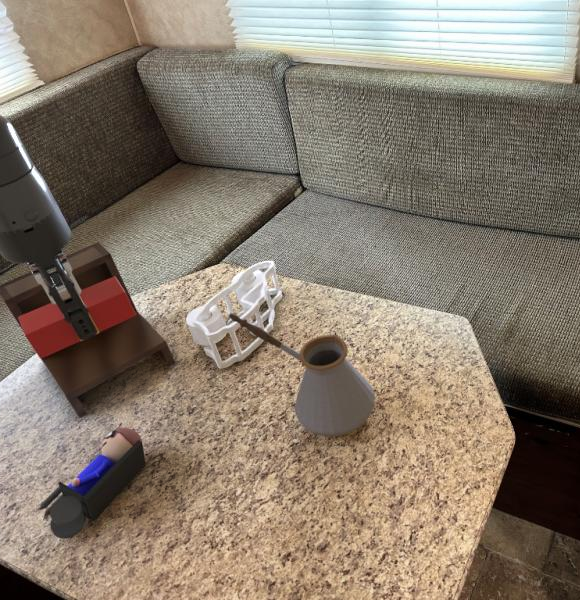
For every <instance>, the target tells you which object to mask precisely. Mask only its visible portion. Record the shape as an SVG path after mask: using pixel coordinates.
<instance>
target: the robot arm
mask: <svg viewBox="0 0 580 600" xmlns="http://www.w3.org/2000/svg"><path fill="white" fill-rule="evenodd" d="M71 239H72V230H71V228H70V226H69V225H68V222H67V221H66V218H65V217H64V215H63V213H62V211H61V209H60V207H59V205H58V203H57V201H56V198H55V197H54V196H53V193H52V192H51V189H50V188H49V186H48V184H47V182H46V180H45V179H44V177H43V176H42V174H41V173H40V172H39V170H38V169H37V167H36V166H35V163H33V161H32V158H31V156H30V154H29V153H28V151H27V148H26V147H25V145H24V143H23V141H22V138H21V137H20V135H19V133H18V131H17V130H16V128H15V126H14V125H13V123H12V122H11V121H10V120H9V119H8V118H7V117H5V116H3V115H1V114H0V255H1V257H2V258H3V259H4V260H5V261H7V262H9V263H11V264H18V265H19V264H20V265H21V264H27V265H28V267H29V269H30V272H32V274H33V276H34V277H35V279H36V281H37V283H38V284H41V285H42V287H43V288H44V290H45V292H46V294H47V295H48V297H49V299H50V301H51V302H52V303H53V304H57V306H58V307H59V309H60V311H61V312H62V315H63V316H64V320H65V321H67V322H68V324H69V323H70V324H71V325H72V327H73V329H74V330H75V332H76V334H77V336H78V337H79V339H80V340H85V339H87V338H89V337H91V336H94V335H96V334H97V329H96V327H95V326H94V324H93V322H92V320H91V318H90V317H89V313H88V312H89V310H88V308H87V306H86V305H84V304H83V302H82V300H81V298H80V294H81V289H80V287H79V285H78V283H77V281H76V280H75V278H74V276H73V274H72V267H71V265H70V264H69V262H68V260H67V258H66V256H67V255H66V254H65V253H64V251H63V249H64V248H65V247H66V246H67V245H68V244H69V243H70V241H71ZM49 287H50V288H49Z"/></svg>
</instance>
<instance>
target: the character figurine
mask: <svg viewBox="0 0 580 600" xmlns="http://www.w3.org/2000/svg"><path fill="white" fill-rule="evenodd" d="M146 466H147V463H146V456H145V451H144V444H143V439H142V437H141V435H140V434H139V433H138V431H136V430H134V429H132V428H129V427H119V428H116V429H114V430H112V431H110V432H109V433H107V434H106V436H105V438H104V439H103V441H102V443H101V454H98V455H97V456H96V457H95V458H94V459H93V460H91V462H89V464H88V465H87V466H86V467H85V468H84V469H83V470H81V472H80V473H79V474H78V475H77V476H76V477H74V478H73V479H72V480H71V482H70V483H68V485H67V484H65V483H63V481H59V482H58V487H56V488H55V490H54V491H52V493H50V494H49V495H48V496H47V497H46V499H44V500H43V502H41V504H40V506H39V511H41V510H44V514H43V518H46V517H48V516H50V518H51V520H50V525H49V526H50V530H51V532H52V534H53V535H54V536H55V537H56V538H59V539H61V540H66V539H71V538H73V537H75V536H77V535H79V534H80V533H81V532H82V531H83V529H84V528H85V525H86V519H88V520H89V521H90V520H91V521H92V522H95V521H96V520H97V519H98V518H99V517H101V515H102V514H103V513H104V512H105V511H106V510H107V508H108V507H109V506H110V505H111V504H112V503H113V502H114V501H115V500H116V499H117V498H118V497H119V496H120V495H121V493H122V492H123V491H124V490H125V489H126V488H127V487H128V486H129V484H131V482H132V481H133V480H134V479H135V478H136V477H137V476H138V475H139V474H140V473H141V472H142V470H144V469H145V467H146ZM60 494H61V495H60ZM56 498H57V499H56ZM49 505H50V506H49ZM45 509H46V510H45Z"/></svg>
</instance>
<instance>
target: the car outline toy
mask: <svg viewBox="0 0 580 600" xmlns="http://www.w3.org/2000/svg"><path fill="white" fill-rule="evenodd" d="M262 269H266V270H265V271H264V272H263V271H261V270H262ZM276 269H277V268H276V265H275V261H273V260H271V259H269V260H264V261H259V262H256V263H254V264H252V265H250V266H248V268H245V269H244V270H242V271H240V272H238V273H236V274H235V275H234V276H233V277H232V280H231V283H230V284H229V285H228V286H226V287H225V288H223V289H222V290H220V291H219V292H217V293H216V294H214V295H213V296H212V297H211V298H210V299H208V300H207V301H206V302H205V303H204V305H200V306H198V307H196V308H194V309H192V310H191V311H190V312H189V313H188V314H187V316H186V319H185V322H186V324H187V327H188V330H189V332H190V334H191V337H192V339H193V341H194V343H195V344H197V345H198V346H203V350H204V353H205V355H206V356H207V357H210V358H211V359H212V360H213V361H214V362H215V364H216V366H217V368H218V369H220V370H223V369H226V368H229V367H230V366H232V365H233V364H235V363H237V362H243V360H245V359H246V358H247V357H248V356H249V355H251V354H252V353H253V352H254V351H255V350H256V349H258V348H259V346H261V345H262V343H264V342H265V340H263V339H261V338H259V337H257V338H256V339H255V340H253V342H251V343H250V344H249V345H248V346H247V347H246V348H244V350H242V349H241V346H240V343H239V340H238V338H237V335H236V331H237V330H238V329H239V328H241V326H240V324H239V323H238V322H235V321H233V322H232V323H231V324H230V325H226V321H225V319H224V317H223V314H222V311H221V309H220V308H219V307H218V306H217V305H216V304H217V303H219V302H220V301H221V300H223V299H224V303H225V305H226V308H227V311H228V314H229V315H230V314H233V313H235V311H234V308H233V305H232V302H231V299H230V296H229V294H232V293H234V294H235V296H236V299H237V302H238V304H240V306H241V308H242V309H241V311H239V312H238V313H236V314H237V316H239V318H241V319H246V320H247V322H248V323H250V324H252V325H255V326H257V327H260V328H261V329H263V330H264V331H266V332H267V333H269V334H270V333H271V332H272V331H273V330H274V320H275V317H276V312H275V306H276V305H277V304H278V303H279V302H281V300H282V298H283V292H282V289H281V287H280V283H279V280H278V279H279V278H278V276H277V271H276ZM270 277H271V278H272V281H273V285H274V287H273V288H269V287H268V283H267V282H268V281H267V280H268V279H269V278H270ZM271 296H274V297H273V298H272V297H271ZM265 302H266V304H267V307H268V309H267V310H266V311H265V312H264V313H262V315H261V313H260V307H261V306H262V305H263V304H264V303H265ZM234 315H235V314H234ZM253 316H255V320H254V322H253V320H252V317H253ZM267 320H268V324H267V325H266V326H265V325H264V323H265V322H266V321H267ZM231 321H232V319H231V318H230V319H229V320H228V322H227V324H229V323H230V322H231ZM248 331H249V330H248ZM227 334H229V335H230V339H231V342H232V344H233V347H234V350H235V353H234V354H233V355H231V356H229V357H228V358H227V359H225V360H222V357H221V355H220V352H219V349H218V347H217V343H219V342H220V341H222V340H223V339H224V338H225V337H226V336H227ZM249 334H250V335H252V336H254V337H256V336H255V335H254V334H253V333H252V332H250V331H249Z"/></svg>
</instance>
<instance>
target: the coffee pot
mask: <svg viewBox="0 0 580 600" xmlns="http://www.w3.org/2000/svg"><path fill="white" fill-rule="evenodd" d="M234 314H235V315H234ZM237 314H238V313H237V312H235V311H234V313H233V314H229V315H228V317H227V320H226V321H225V322H226V325H230V324H231V323H232V322H233V321H235V322H238V323H239V324H240V328H245V329H246V330H248V331H250V332H252V333H253V334H254V335H255V336H254V335H253V336H254V337H257V338H258V337H259V338H261V339H263V340H264V342H266V343H269V344H271V345H273V346H274V347H276V348H278V349H280V350H282V351H284V352H285V353H287V354H288V355H289V356H292V357H293V358H294V359H296V360H297V361H300V363H301V364H302V365H303V366H304V367H305V370H304V373H303V375H302V380H301V382H300V385H299V389H298V392H297V395H296V399H295V403H294V411H295V412H294V413H295V416H296V418H297V420H298V422H299V423H300V424H301V426H303V427H304V429H306V430H307V431H308V432H311V433H313V434H314V435H317V436H320V437H325V438H326V437H327V438H330V437H331V438H332V437H333V438H334V437H341V436H344V435H347V434H350V433H352V432H354V431H356V430H357V429H359V428H360V427H362V426H363V425H364V424H365V423H366V421H367V420H368V419H369V418H370V416H371V414H372V412H373V410H374V408H375V400H376V396H375V392H374V388H373V386H372V385H371V384H370V382H369V381H368V380H367V378H365V377H364V376H363V375H362V374H361V372H360V371H359V370H358V369H357V368H356V367H355V366H354V365H353V364H352V363H351V361H349V359H347V356H348V352H349V348H348V344H346V341H344V339H343V338H342V337H341V336H339V335H337V334H327V335H326V334H324V335H320V336H316V337H314V338H311V339H310V340H308V341H307V342H306V343H304V344H303V346H302V348H301V349H300V351H297V350H295V349H294V348H292V347H289V345H286V344H285V343H284V342H282V341H280V340H279V339H278V338H276V337H275V336H273V335H272V334H270V333H267V332H266V331H264V330H263V329H261V328H260V327H257V326H255V325H252V324H250V323H248V322H247V320H246V319H241V318H239V316H237ZM229 319H232V321H231V322H230V323H229V324H227V322H228V320H229ZM250 332H249V333H250Z"/></svg>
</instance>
